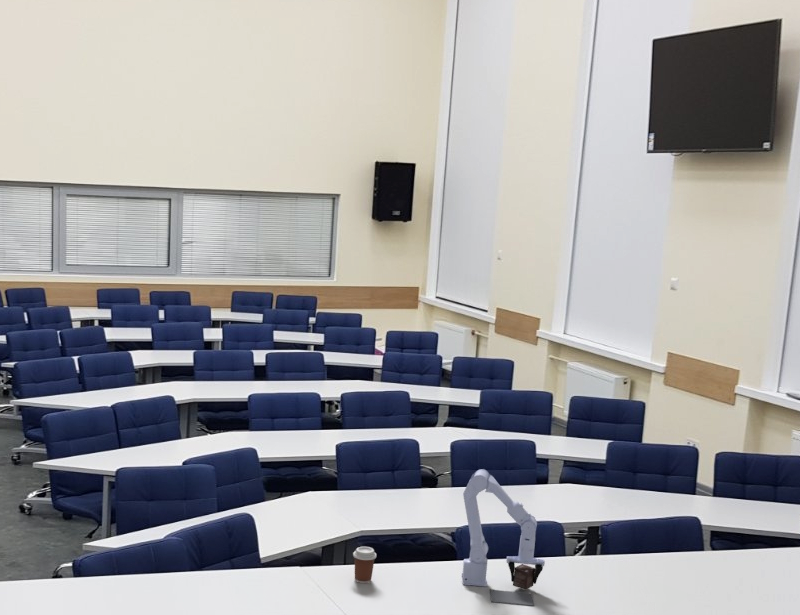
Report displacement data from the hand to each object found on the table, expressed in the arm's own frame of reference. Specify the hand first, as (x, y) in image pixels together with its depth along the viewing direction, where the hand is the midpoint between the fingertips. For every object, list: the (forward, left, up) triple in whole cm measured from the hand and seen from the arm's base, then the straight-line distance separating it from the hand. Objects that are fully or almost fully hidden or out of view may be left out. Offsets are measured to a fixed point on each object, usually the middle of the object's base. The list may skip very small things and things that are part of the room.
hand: (523, 581), depth 373 cm
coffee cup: (-62, -5, -3) cm, 62 cm away
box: (0, 0, -2) cm, 2 cm away
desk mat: (-5, -10, -3) cm, 11 cm away
